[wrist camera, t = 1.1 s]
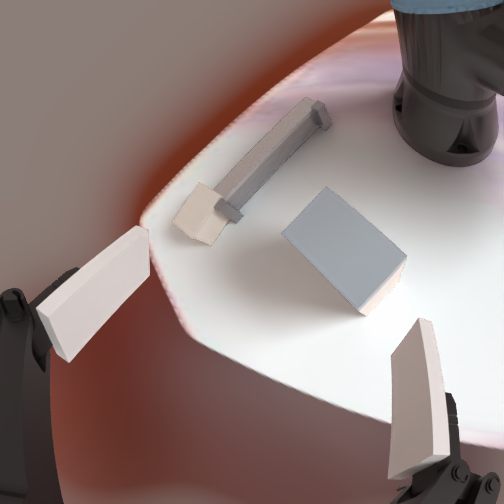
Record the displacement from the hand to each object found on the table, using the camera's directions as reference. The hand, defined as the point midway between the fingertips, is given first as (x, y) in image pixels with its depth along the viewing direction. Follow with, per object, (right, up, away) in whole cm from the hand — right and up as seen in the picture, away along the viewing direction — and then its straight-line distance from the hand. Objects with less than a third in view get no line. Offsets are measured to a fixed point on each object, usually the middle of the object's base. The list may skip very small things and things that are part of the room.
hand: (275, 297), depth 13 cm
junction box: (-6, +6, +27) cm, 29 cm away
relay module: (+10, 0, +17) cm, 20 cm away
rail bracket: (+2, +14, +25) cm, 29 cm away
